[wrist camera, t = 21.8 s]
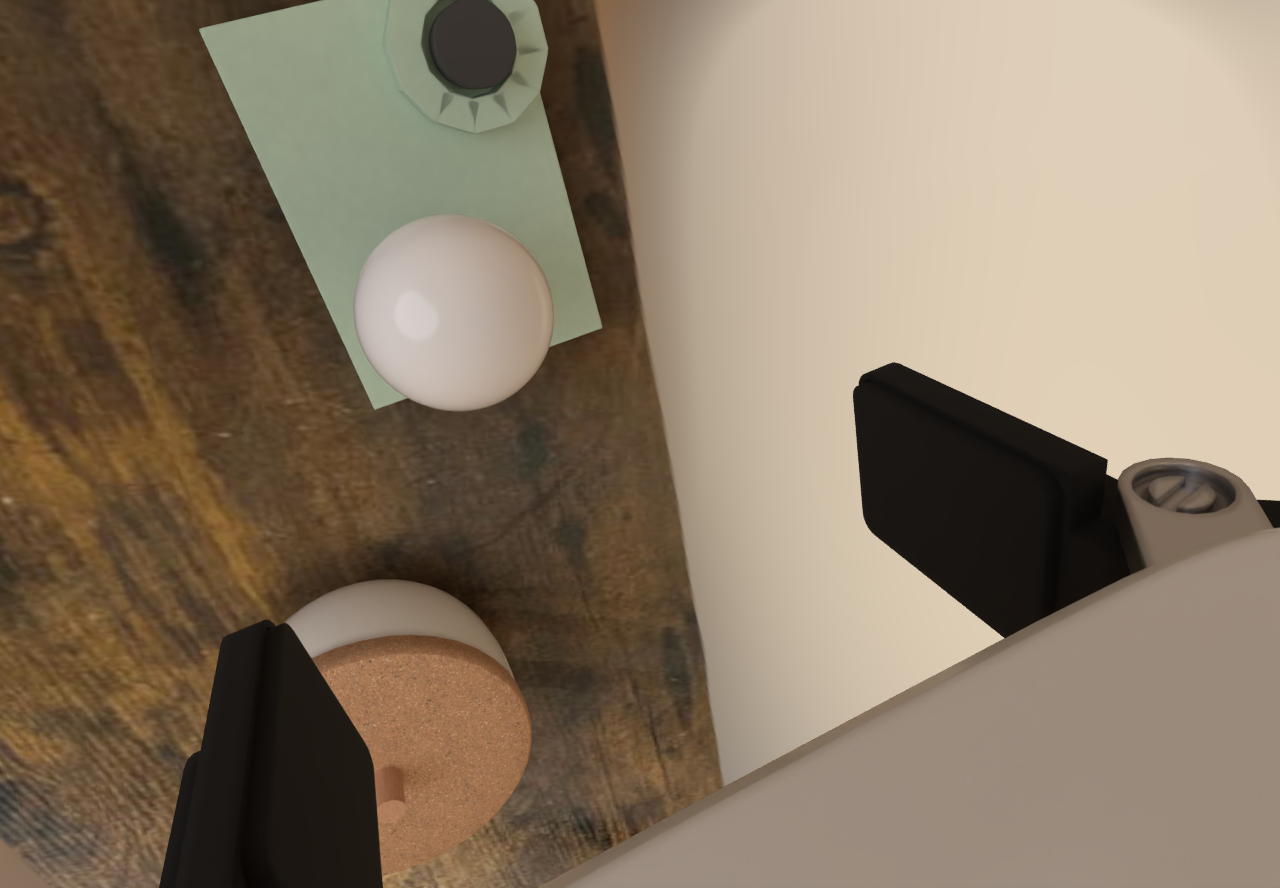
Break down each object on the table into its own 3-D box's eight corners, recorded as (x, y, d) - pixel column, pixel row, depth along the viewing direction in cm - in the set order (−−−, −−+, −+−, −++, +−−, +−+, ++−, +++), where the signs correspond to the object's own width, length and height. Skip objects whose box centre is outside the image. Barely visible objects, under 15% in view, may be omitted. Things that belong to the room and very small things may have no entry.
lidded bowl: (459, 502, 37) (505, 637, 28) (516, 678, 43) (569, 838, 34) (192, 588, 34) (142, 775, 24) (294, 766, 40) (285, 970, 30)
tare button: (417, 12, 26) (422, 7, 24) (492, -6, 26) (502, -12, 25) (445, 97, 27) (452, 97, 26) (515, 78, 28) (526, 77, 26)
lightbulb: (534, 260, 32) (617, 324, 23) (443, 370, 32) (488, 476, 23) (414, 153, 29) (454, 178, 19) (314, 278, 29) (307, 360, 20)
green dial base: (198, 20, 26) (185, 12, 23) (502, -49, 28) (520, -64, 26) (373, 399, 33) (376, 424, 31) (600, 318, 36) (621, 334, 33)
